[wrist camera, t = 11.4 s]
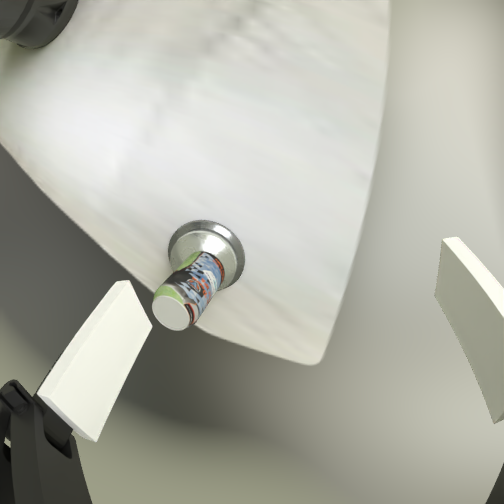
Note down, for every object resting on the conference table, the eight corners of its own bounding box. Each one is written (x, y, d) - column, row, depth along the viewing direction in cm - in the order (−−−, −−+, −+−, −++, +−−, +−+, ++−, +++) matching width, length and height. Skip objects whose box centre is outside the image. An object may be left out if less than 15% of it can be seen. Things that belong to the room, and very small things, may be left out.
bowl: (159, 228, 43) (152, 235, 41) (233, 213, 41) (230, 220, 39) (184, 291, 49) (179, 300, 46) (253, 283, 46) (251, 293, 44)
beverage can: (225, 286, 44) (206, 343, 34) (178, 277, 44) (149, 330, 34) (228, 250, 41) (208, 304, 30) (178, 241, 41) (144, 291, 31)
